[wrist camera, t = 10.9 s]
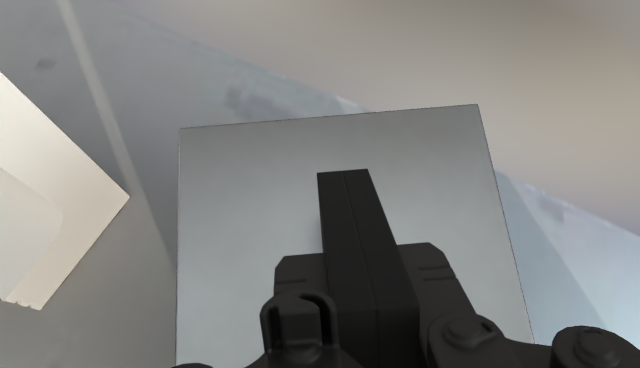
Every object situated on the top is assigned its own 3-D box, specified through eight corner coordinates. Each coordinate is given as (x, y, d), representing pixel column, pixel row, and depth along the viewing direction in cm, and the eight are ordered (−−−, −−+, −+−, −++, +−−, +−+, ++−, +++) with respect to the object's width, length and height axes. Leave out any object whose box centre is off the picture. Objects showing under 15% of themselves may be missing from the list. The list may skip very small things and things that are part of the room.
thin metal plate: (184, 138, 18) (178, 127, 18) (472, 114, 19) (478, 102, 18) (179, 525, 14) (171, 533, 13) (557, 487, 14) (571, 492, 13)
